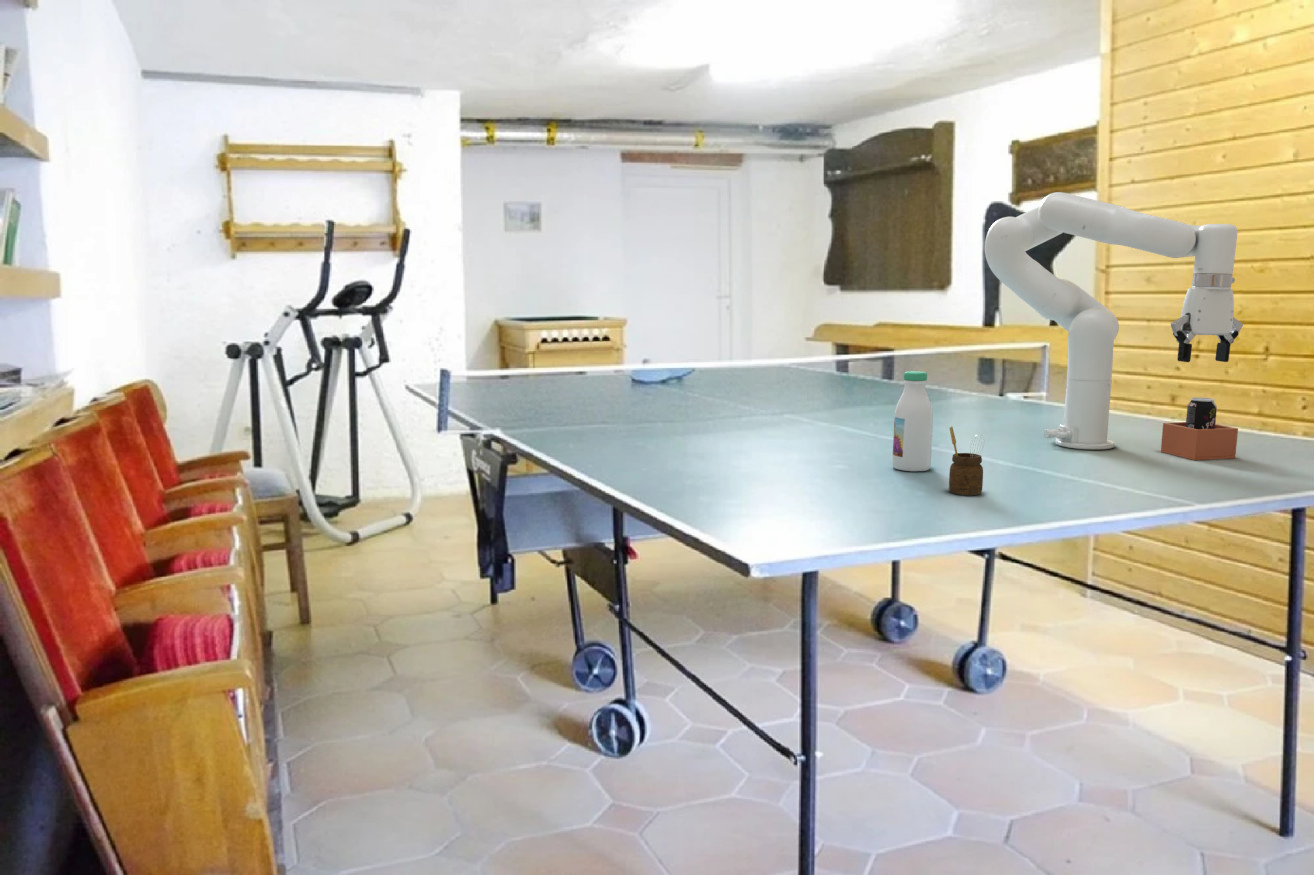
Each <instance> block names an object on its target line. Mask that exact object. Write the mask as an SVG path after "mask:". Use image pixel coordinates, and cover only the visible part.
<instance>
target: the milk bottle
mask: <svg viewBox="0 0 1314 875" xmlns="http://www.w3.org/2000/svg"><path fill="white" fill-rule="evenodd" d="M927 380H928V373H927V372H925V371H919V370H917V371H916V370H907V371H905V372H904V373H903V383H904V387H903V390H902V394H901V396H900V398H899V399H898V401H897V403H896V407H895V411H894V417H893V418H894V420H893V437H892V438H893V440H892V462H891V463H892V467H893V468H894V469H896V470H899V471H905V472H925V471H929V470H930V469H931V466H932V452H933V451H932V450H933V427H934V426H933V424H934V423H933V422H934V412H933V407H932V403H931V401H930V398H929V395H928V393H927V388H926V386H927V383H928V382H927Z"/></svg>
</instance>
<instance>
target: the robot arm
mask: <svg viewBox="0 0 1314 875" xmlns="http://www.w3.org/2000/svg"><path fill="white" fill-rule="evenodd" d="M1238 231H1239V230H1238V227H1237V226H1236V225H1234V224H1232V223H1231V224H1230V223H1207V224H1202V225H1194V224H1188V223H1185V222H1182V221H1177V220H1173V219H1170V218H1169V219H1168V218H1164V217H1160V216H1156V215H1152V214H1148V213H1144V212H1139V211H1136V210H1132V209H1130V208H1128V207H1124V206H1121V205H1118V204H1115V203H1109V202H1105V201H1101V200H1096V199H1092V198H1089V197H1085V196H1084V197H1083V196H1079V195H1076V194H1071V193H1068V192H1063V191H1062V192H1060V191H1058V192H1057V191H1056V192H1052V193H1049V194H1048V195H1046V196H1045V197H1044V198H1042V200H1041V202H1040V204H1039V205H1038V206H1035V207H1034V208H1032V209H1030V210H1028V211H1026V212H1023V213H1022V214H1019V215H1018V216H1016V217H1015V216H1005V217H1001V218H998V219H997V220H996V221H995V222H993V223H992V225H991V226H990V227H989V228H988V231H987V233H986V236H985V240H984V241H985V242H984V256H985V260H986V263H987V265H988V267H989V269H990V270H991V272H992V274H993V275H994V276H995V277H996V278H997V279H998V281H1000V282H1001V284H1003V285H1004V286H1006V287H1007V289H1009V290H1011V291H1012V293H1014V294H1015V295H1016V296H1017V297H1018V298H1019V299H1021V300H1022V301H1023V302H1025V303H1026V304H1027V305H1028V306H1030V307H1031V308H1032V309H1033V310H1034V311H1035V312H1036V313H1037V314H1039V315H1040V316H1041V317H1042V318H1044V319H1046V320H1049V321H1054V322H1055V323H1057V324H1058V325H1059V326H1061V328H1063V329H1064V330H1065V331H1066V332H1068V334H1067V370H1066V384H1065V385H1066V386H1065V387H1066V388H1065V401H1064V415H1063V416H1064V417H1063V424H1059V426H1058V428H1056V429H1045V430H1044V434H1043V435H1044V437H1045V439H1055V445H1057V446H1059V447H1064V448H1069V449H1077V450H1093V451H1094V450H1096V451H1097V450H1109V449H1112V448H1114V447H1115V442H1114V441H1113V440H1111V439H1108V434H1109V421H1110V420H1109V419H1110V408H1111V407H1110V406H1111V395H1112V394H1111V392H1112V378H1113V366H1114V364H1113V362H1114V345H1115V344H1114V343H1115V339H1116V338H1117V336H1118V334H1119V329H1120V324H1119V320H1118V319H1117V318H1118V317H1116V315H1115V313H1114V312H1112V311H1111V310H1110V309H1109V308H1107V307H1106V306H1105V305H1104V304H1102V303H1101V302H1100V301H1098V300H1097V299H1096V298H1094V297H1093V296H1092V295H1091V294H1089V293H1088V292H1086V291H1085V290H1084V289H1082V288H1081V287H1080V286H1079V285H1077V284H1076V283H1074V282H1073V281H1070V280H1068V279H1063V278H1059V277H1058V276H1056V275H1055V274H1053V273H1052V272H1050V271H1049V270H1048V269H1046V268H1045V267H1044V266H1043V265H1041V263H1039V262H1038V261H1037V260H1035V259H1033V258H1032V257H1031V256H1030V255H1029V254H1028V253H1027V251H1029V250H1031V249H1033V248H1035V247H1037V246H1039V245H1041V244H1043V243H1045V242H1048V241H1049V240H1052V239H1053V238H1055V237H1057V236H1059V235H1061V234H1063V233H1064V234H1067V235H1071V236H1075V237H1080V238H1084V239H1087V240H1091V241H1096V242H1099V243H1103V244H1108V245H1115V246H1116V245H1117V246H1123V247H1128V248H1132V249H1136V250H1140V251H1144V252H1148V253H1152V254H1155V255H1158V256H1159V255H1160V256H1163V257H1166V258H1171V259H1182V258H1188V257H1190V258H1191V257H1194V261H1193V262H1194V263H1193V272H1192V273H1193V274H1192V280H1191V288H1189V287H1188V288H1187V291H1186V294H1185V296H1184V300H1183V303H1182V306H1181V307H1182V308H1181V312H1180V313H1181V314H1180V317H1179V318H1176V319H1175V320H1173V321H1172V322H1171V323H1170V327H1171V331H1172V335H1173V337H1174V339H1176V340H1175V341H1176V343H1177V344H1178V350H1177V358H1176V359H1177V362H1182V363H1190V362H1191V358H1192V351H1193V350H1192V349H1193V343H1191V342H1192V340H1193V339H1194V338H1195V337H1196V336H1216V338H1217V339H1218V341H1219V342H1217V344H1216V349H1215V361H1216V362H1221V363H1223V362H1224V363H1228V362H1229V360H1230V352H1231V344H1234V342H1235V339H1236V338H1237V337H1238V336H1239V334H1240V331H1241V330H1242V328H1243V326H1244V324H1243V323H1242V321H1240V320H1239V319H1237V318H1235V317H1234V312H1235V310H1234V309H1235V308H1234V307H1235V301H1234V300H1235V299H1234V289H1233V288H1232V284H1234V283H1235V281H1236V280H1235V277H1233V274H1234V266H1235V258H1236V248H1237V241H1238Z"/></svg>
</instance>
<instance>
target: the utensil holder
mask: <svg viewBox="0 0 1314 875" xmlns="http://www.w3.org/2000/svg"><path fill="white" fill-rule="evenodd" d="M949 433H950V438H951V443H952V445H953V448H954V452H955V453H953V454H952V458H951V461H952V463H951V465H950V467H949V477H948V489H949V492H950V493H951V494H954V495H957V496H979V495H980V494H982V492H983V486H984V485H983V484H984V467H983V465H982V463H983V457H982V455H981V454H982V451H983V450H984V445H980V444H985V441H986V440H985V439H983V438H984V436H983V435H981V434H979V435H978V434H975V437H976V438H977V439H976V440H978V439H979V438H980V440H979V441H978V443H980V444H978V446H977V441H976V442H975V437H972V438H971V442H970V444H969V447H976V446H977V449H976V448H973V450H971V452H958V448H957V438H956V434H955V430H954V427H953V426H950V427H949ZM973 440H974V441H973ZM980 441H981V442H980ZM972 444H973V445H972ZM979 446H980V447H979ZM981 446H982V447H981ZM979 448H980V449H979ZM978 449H979V451H978V453H974V452H975V450H978Z"/></svg>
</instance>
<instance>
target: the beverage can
mask: <svg viewBox="0 0 1314 875" xmlns="http://www.w3.org/2000/svg"><path fill="white" fill-rule="evenodd" d="M1217 411H1218V406H1217V404H1216V402H1215V399H1214V398H1211V397H1191V398H1190V401H1189V402H1188V403H1187V407H1186V418H1185V422H1186V427H1188V428H1193V429H1215V424H1217V423H1216V421H1217Z"/></svg>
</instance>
